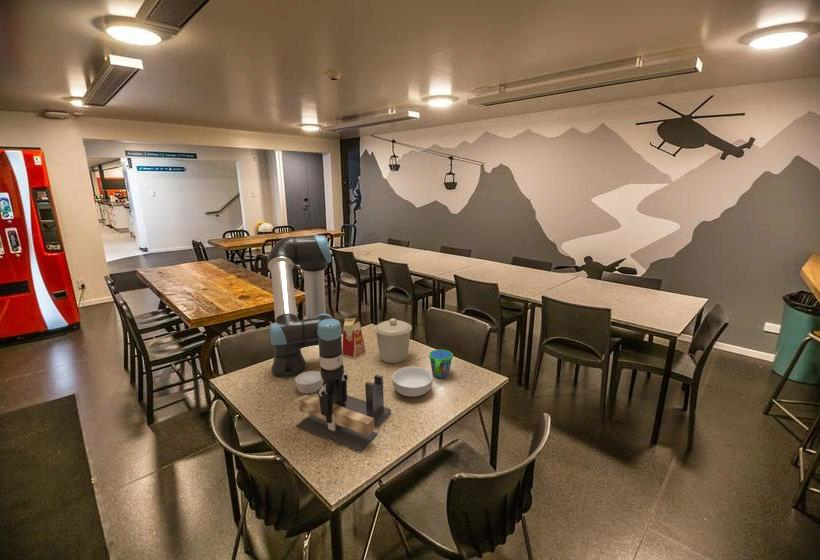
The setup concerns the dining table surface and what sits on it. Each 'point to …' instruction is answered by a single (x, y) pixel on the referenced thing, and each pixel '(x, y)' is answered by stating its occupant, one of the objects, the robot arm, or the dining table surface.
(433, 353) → the snack cup
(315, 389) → the ramekin
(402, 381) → the cereal bowl
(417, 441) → the dining table surface
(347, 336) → the milk carton
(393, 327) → the canister
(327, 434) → the black rubber mat
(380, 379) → the stand
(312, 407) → the maple rail
